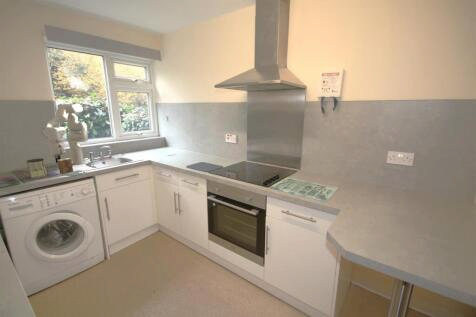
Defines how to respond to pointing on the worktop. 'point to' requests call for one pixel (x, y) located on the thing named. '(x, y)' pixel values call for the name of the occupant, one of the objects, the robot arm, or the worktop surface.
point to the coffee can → (36, 168)
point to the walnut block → (65, 165)
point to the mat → (74, 173)
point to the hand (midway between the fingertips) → (58, 162)
